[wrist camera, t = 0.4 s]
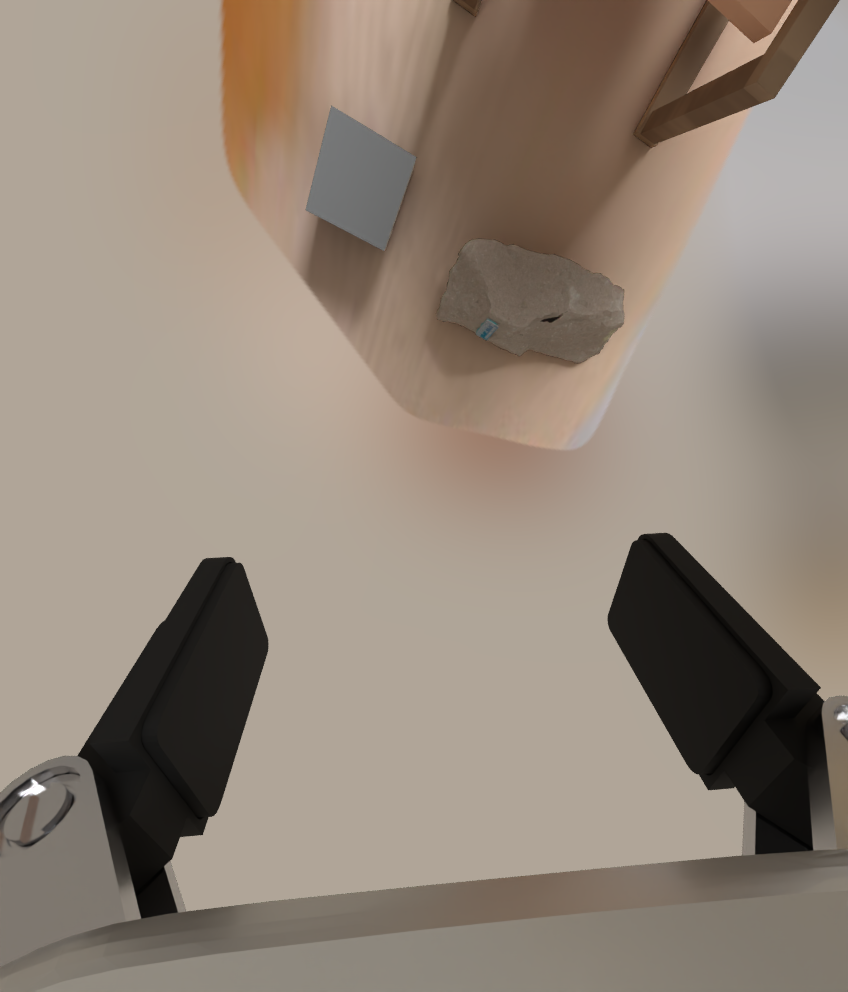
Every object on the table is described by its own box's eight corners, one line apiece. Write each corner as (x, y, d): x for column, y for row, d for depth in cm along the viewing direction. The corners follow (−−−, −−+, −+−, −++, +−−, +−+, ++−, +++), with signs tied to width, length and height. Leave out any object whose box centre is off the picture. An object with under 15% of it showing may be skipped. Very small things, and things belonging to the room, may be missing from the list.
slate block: (341, 128, 25) (331, 105, 21) (413, 170, 27) (416, 157, 23) (319, 215, 28) (305, 210, 24) (385, 250, 29) (384, 251, 25)
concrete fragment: (577, 374, 35) (609, 397, 30) (428, 322, 32) (434, 338, 27) (622, 289, 32) (666, 299, 26) (459, 221, 28) (474, 218, 23)
